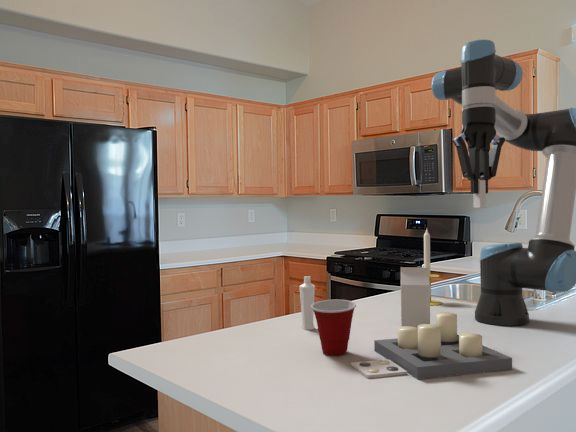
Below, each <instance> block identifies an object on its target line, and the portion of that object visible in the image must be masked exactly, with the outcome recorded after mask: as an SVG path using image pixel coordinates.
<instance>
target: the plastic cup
mask: <svg viewBox="0 0 576 432" xmlns="http://www.w3.org/2000/svg"><path fill="white" fill-rule="evenodd" d="M356 306H357V304H356V302H355V301H352V300H347V299H337V298H336V299H325V300H319V301H316V302H314V303H313V304H312V305H311V308H312V309H313V311H314V316H315V317H314V318H315V319H316V320H315V321H316V325H317V330H318V335H319V340H320V345H321V350H322V351H321V352H322V354H323V355H326V356H331V357H337V356H338V357H340V356H344V355H346V354H347V351H348V348H349V346H348V345H349V340H350V335H351V327H352V322H353V316H354V311H355V308H356Z"/></svg>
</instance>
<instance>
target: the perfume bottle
mask: <svg viewBox="0 0 576 432" xmlns="http://www.w3.org/2000/svg"><path fill="white" fill-rule="evenodd" d="M298 288H299V298H300V310H301V319H302V320H301V323H302V324H301V329H302V330H304V331H306V330H307V331H308V330H311V331H312V330H314V329H315V325H314V316H315V314H314V311H313V309H312V308H311V305H312V304H313V303H315V292H316V285H314V284H313V283H312V282H311V276H310V275H308V276H307V275H305V276H303V283H302V284H301V285H299V287H298Z"/></svg>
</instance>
